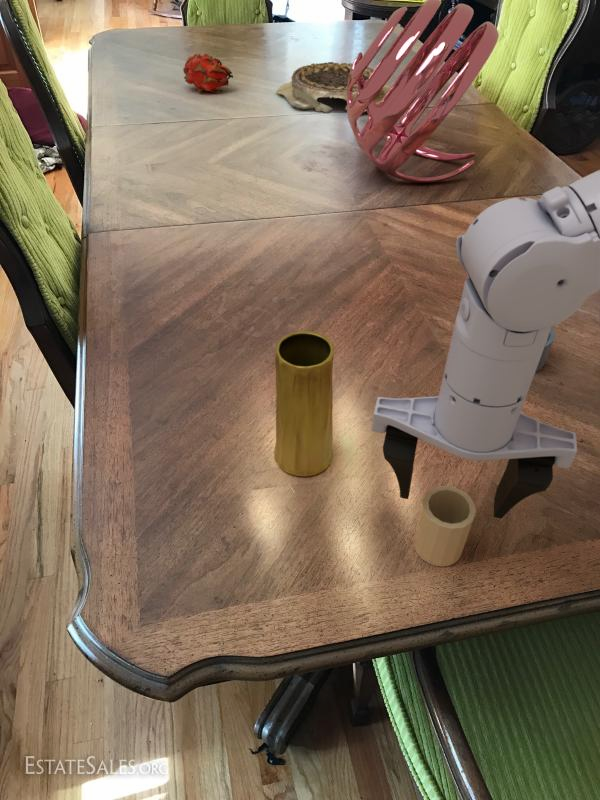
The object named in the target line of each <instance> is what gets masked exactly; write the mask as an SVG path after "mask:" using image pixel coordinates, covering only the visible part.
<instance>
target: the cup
mask: <svg viewBox="0 0 600 800" xmlns="http://www.w3.org/2000/svg"><path fill="white" fill-rule="evenodd" d="M476 514H477V510H476V504H475V502H474V500H473V499H472V498H471V497H470V495H469V494H468V493H467V492H465V491H463V490H462V489H460V488H458V487H455V486H451V485H446V484H445V485H439V486H434V487H433V488H431V489H430V490H428V491H427V492H425V495H424V496H423V498H422V502H421V506H420V511H419V515H418V519H417V523H416V527H415V531H414V536H413V547H414V551H415V552H416V554H417V555H418V557H420V559H422V560H423V561H424V562H425V563H427V564H429V565H432V566H435V567H441V568H442V567H448V566H451V565H454V564H456V563H457V562H458V561H459V560H460V558H461V556H462V555H463V551H464V549H465V546H466V544H467V541H468V538H469V534H470V532H471V529H472V526H473V523H474V520H475V517H476Z"/></svg>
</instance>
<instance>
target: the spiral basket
mask: <svg viewBox="0 0 600 800" xmlns="http://www.w3.org/2000/svg"><path fill="white" fill-rule="evenodd" d="M441 4H442V1H441V0H425V1H424V2H423V3H422V4H421V6H420V7H419V8H418V9H417V10H416V11H415V13H414V14H413V16H412V17H411V18H410V20H409V21H408V23H407V24H406V25H405V26H404V28H403V29H402V31H401V32H400V33H399V34H398V36H397V37H396V38H395V40H394V41H393V43H392V44H391V45H390V47H389V48H388V50H387V51H386V53H385V54H384V55H383V57H381V60H380V61H379V63H378V64H377V65H376V67H375V68H373V70H374V71H373V72H372V74H371V75H370V77H369V78H368V79H367V80H366V81H364V78H363V72H364V71H365V69H366V68H367V67H369V65H370V64H371V63H372V62H373V60H374V58H375V57H376V56H377V54H378V53H379V51H380V50H381V48H382V47H383V46H384V44H385V43H386V42H387V41H388V39H389V37H390V36H391V34H392V33H393V32H394V30H395V28H396V27H397V26H398V24H399V22H401V20H402V18H403V17H404V15H405V14H406V12H407V11H408V7H407V6H402V7H400V8H398V9H396V10H395V11H393V13H392V14H391V15H390V17H389V18H388V20H387V21H386V22H385V24H384V25H383V26H382V28H381V29H380V31H379V32H378V34H377V35H376V37H375V38H374V39H373V40H372V42H371V44H370V45H369V47H368V48H367V50H366V51H365V52H364V54H363V53H362V52H361V51H360V52H359V53H358V54H357V57H355V58H354V59H353V62H352V67H351V70H350V73H349V77H348V81H347V100H346V106H347V110H346V116H347V120H348V123H349V126H350V128H351V131H352V134H353V136H354V138H355V140H356V144H357V146H358V148H359V149H360V151H361V152H362V153H363V154H364V155H365V156H366V157H367V158H368V159H369V160H370V162H372V163H373V164H374V166H376V168H378V169H379V170H380V171H381V172H383V173H384V174H386V175H389V176H391V177H393V178H397V179H399V180H401V181H404V182H409V183H415V184H431V183H438V182H439V183H440V182H442V181H446V180H449V179H451V178H454V177H457V176H459V175H460V174H462V173H464V172H465V171H467V170H468V169H469V168H471V167H472V166H473V165H474V164H475V160H473V159H472V160H470V161H468V162H466V163H464V164H463V165H462V166H460V167H459V168H457V169H455V170H453V171H451V172H448V173H444V174H441V175H436V176H430V177H429V176H428V177H418V176H412V175H407V174H404V173H402V172H399V171H397V169H399V168H401V166H402V165H404V164H405V163H406V162H407V161H408V160H409V159H410V158H411V157H412V156H413V155H414V154H415V155H417V156H420V157H423V158H427V159H431V160H434V161H443V162H457V161H465V160H468V159H471V158H473V157H475V156H476V155H477V154H476V153H475V152H467V153H450V152H449V153H448V152H445V151H444V152H443V151H440V150H437V149H433V148H431V147H429V146H426V145H424V143H425V142H426V141H427V140H429V138H430V137H431V135H432V134H433V133H434V132H435V131H436V130H437V128H438V127H439V126H440V125H441V124H442V123H443V121H444V120H445V119H446V117H447V116H448V115H449V114H450V112H451V111H452V110H453V109H454V107H456V105H458V104H457V103H458V102H459V101H460V100H461V99H462V97H463V96H464V94H466V92H467V90H468V89H469V87H470V86H471V85H472V84H473V82H474V81H475V80H476V78H477V77H478V75H479V74H480V72H481V70H482V69H483V67H484V66H485V64H486V63H487V61H488V60H489V58H490V57H491V55H492V53H493V51H494V49H495V47H496V46H497V43H498V41H499V35H500V32H499V30H498V29H497V27H496V26H495V24H493V23H492V22H491V21H485V22H483V23H482V24H480V25H479V26H478V27H477V28H475V30H473V31H472V32H471V33H470V34H469V36H467V37H466V39H465V40H464V41H463V42H462V43H461V44H460V45H459V46H458V47H457V48H456V49H455V51H454V52H453V53H451V52H452V51H453V50H454V48H455V46H456V45H457V43H458V42H459V40H460V38H461V37H462V35H463V34H464V33H465V31H466V29H467V27H468V26H469V24H470V22H471V21H472V18H473V16H474V14H475V13H474V9H473V8H472V7H471V6H470V5H468V4H465V3H458V4H457V5H455V6H454V7H453V8H452V10H450V11H449V13H447V15H446V16H445V17H444V18H443V19H442V21H441V22H440V23H439V24H438V25H437V26H436V28H435V29H434V30H433V31H432V33H430V35H429V36H428V38H427V39H426V40H425V42H423V44H422V45H421V46H420V48H419V49H418V50H417V51H416V53H415V54H414V56H413V57H412V58H411V60H410V61H409V62H408V63H407V65H406V66H405V68H404V69H403V70H402V72H401V73H400V74H399V75H398V77H397V78H396V79H395V81H394V82H393V84H392V85H391V86H390V87H391V88H390V89H389V91H388V92H387V94H386V95H385V97H384V98H383V99H382V101H381V102H380V103H379V104H376V103H375V102H374V101H373V100H374V98H375V97H376V96H377V94H378V93H379V92H380V91H381V89H382V88H383V87H384V85H385V84H386V85H387V82H389V80H390V78H391V77H392V76H393V75H394V73H395V72H396V70H397V69H398V68H399V66H400V65H401V63H403V61H404V60H405V58H406V57H407V56H408V54H409V53H410V51H412V49H413V47H414V46H415V44H416V43H417V41H418V40H419V39H420V37H421V36H422V34H423V33H424V31H425V30H426V28H427V27H428V25H429V24H430V22H431V21H432V19H433V18H434V16H435V15H436V13H437V11H438V10H439V8H440V7H441ZM450 53H451V55H450ZM449 55H450V56H449ZM448 56H449V57H448ZM446 59H447V60H446ZM460 68H461V69H460ZM459 69H460V71H458V70H459ZM457 71H458V73H457ZM456 73H457V74H456ZM455 74H456V76H455V77H454V79H452V77H453V76H454V75H455ZM450 79H452V81H451V83H450V84H449V85H448V87H447V88H446V89H445V91H444V92H443V94H442V95H441V96H440V97H439V98H438V100H436V103H434V104H433V106H432V107H431V109H430V110H429V111H428V112H427V113H426V115H425V116H424V117H423V119H422V120H421V121H420V122H419V124H418V125H416V127H415V128H414V129H413V127H414V125H415V124H416V123H417V121H418V120H419V119H420V117H421V116H422V115H423V113H424V112H425V111H426V109H427V108H428V107H429V105H430V104H431V103H432V101H433V100H435V98H436V97H437V95H438V94H439V93H440V92H441V91H442V89H443V88H444V87H445V85H447V83H448V82H449V81H450ZM356 82H357V88H358V91H357V95H356V97H355V98H354V100H353V101H352V93H353V86H354V85H355V83H356ZM365 110H367V111H366V113H367V117H368V119H367V121H366V123H365V125H364V126H363V128H362V130H361V131H360V130H359V127H358V120H359V118H361V116H362V115H363V114H364V113H365V112H364V111H365ZM363 112H364V113H363ZM400 119H401V120H400ZM412 129H413V131H411V130H412ZM410 132H411V133H410ZM385 137H386V142H385V144H384V146H383V147H382V149H381V150H380V153H379V155H378V157H377V156H376V155H375V154H374V152H373V149H374V148H375V147H377V145H379V143H380V142H381V141H382V140H383V139H384V138H385Z"/></svg>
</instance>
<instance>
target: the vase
mask: <svg viewBox="0 0 600 800" xmlns="http://www.w3.org/2000/svg"><path fill="white" fill-rule="evenodd" d="M334 355H335V345H334V344H333V342H332V341H331V339H329V337H327V336H325V335H324V334H321V333H319V332H316V331H311V330H309V331H308V330H298V331H293V332H290V333H288V334H286V335H284V336H283V337H281V338H280V339H279V340H278V342H277V344H276V348H275V389H276V391H275V392H276V393H275V394H276V396H275V399H276V401H275V444H274V445H275V446H274V451H273V457H274V460H275V463H276V464H277V466H278V467H279V468H280V469H281V470H282V471H284V472H286V473H287V474H289V475H292V476H295V477H311V476H316V475H318V474H321V473H323V472H324V471H325V470H326V469H327V468H328V467H329V466H330V464H331V463H332V460H333V455H334V451H333V436H334V435H333V430H334V429H333V428H334V427H333V426H334V425H333V423H334V422H333V408H334V407H333V406H334V405H333V401H334V400H333V398H334V397H333V396H334V395H333V368H334Z"/></svg>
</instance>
